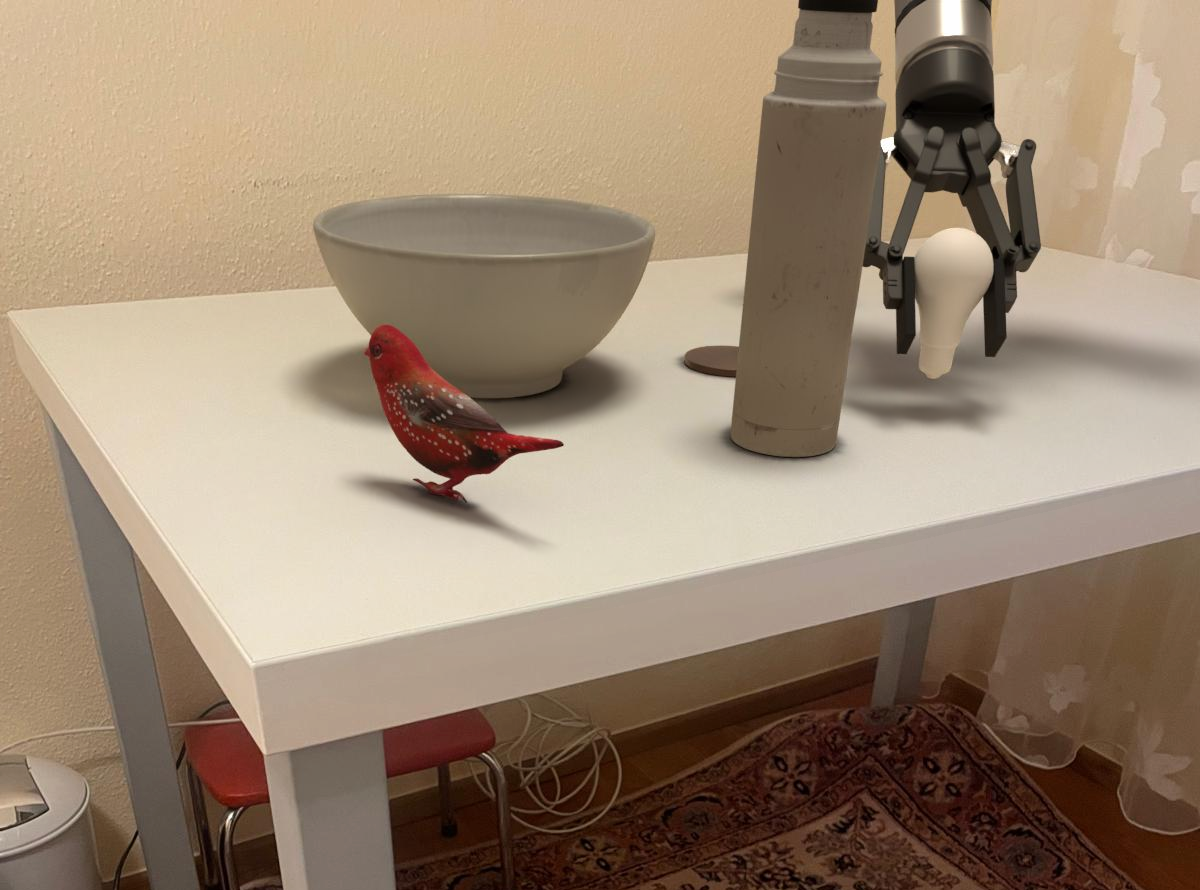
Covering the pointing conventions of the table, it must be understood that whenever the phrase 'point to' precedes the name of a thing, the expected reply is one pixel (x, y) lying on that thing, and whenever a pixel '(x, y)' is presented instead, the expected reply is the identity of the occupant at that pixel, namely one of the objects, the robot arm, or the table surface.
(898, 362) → the table surface
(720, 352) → the walnut coaster
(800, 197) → the thermos bottle
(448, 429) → the decorative bird figurine
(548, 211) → the decorative bowl
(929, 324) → the lightbulb
